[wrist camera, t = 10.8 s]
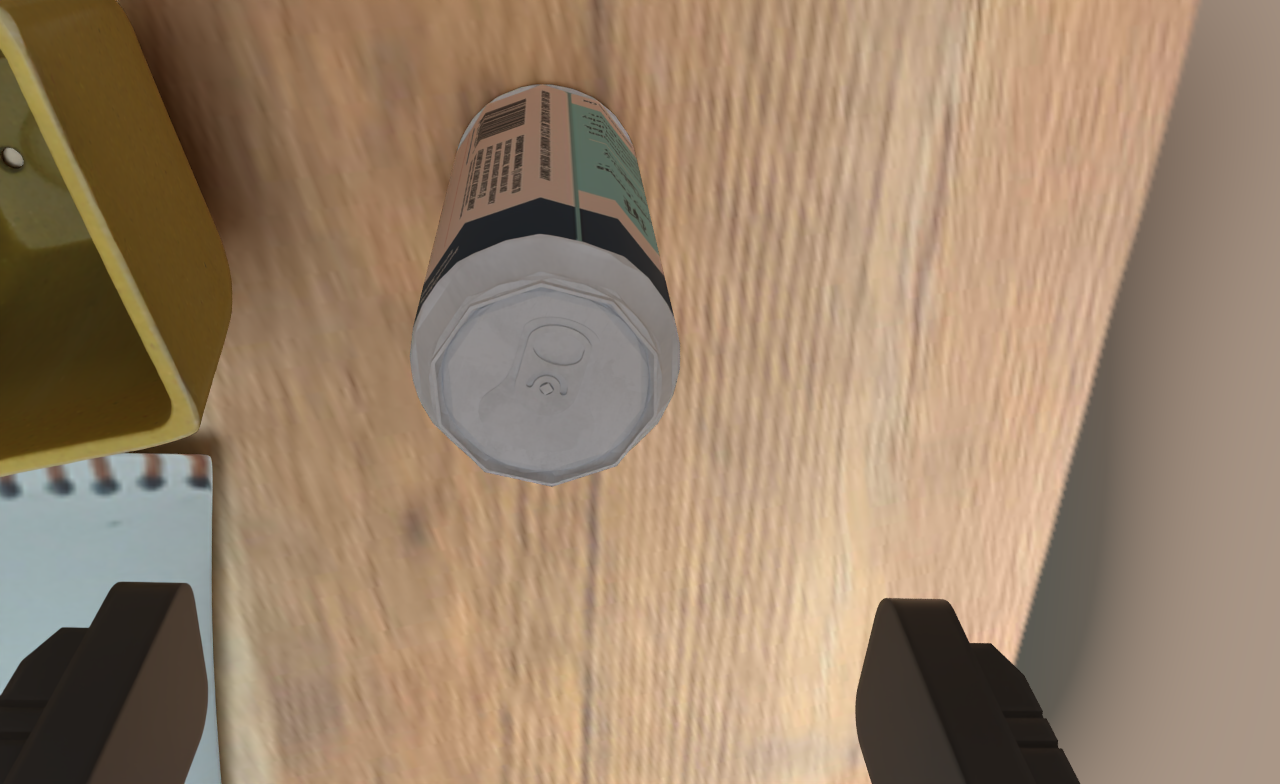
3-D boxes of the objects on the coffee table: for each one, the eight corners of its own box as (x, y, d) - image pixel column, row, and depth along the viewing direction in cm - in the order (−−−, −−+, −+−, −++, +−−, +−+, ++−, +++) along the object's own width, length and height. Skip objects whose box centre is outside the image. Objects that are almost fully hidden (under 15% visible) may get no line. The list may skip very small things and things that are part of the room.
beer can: (438, 228, 29) (377, 473, 19) (479, 55, 27) (437, 225, 17) (607, 272, 30) (638, 529, 20) (660, 110, 28) (726, 302, 18)
